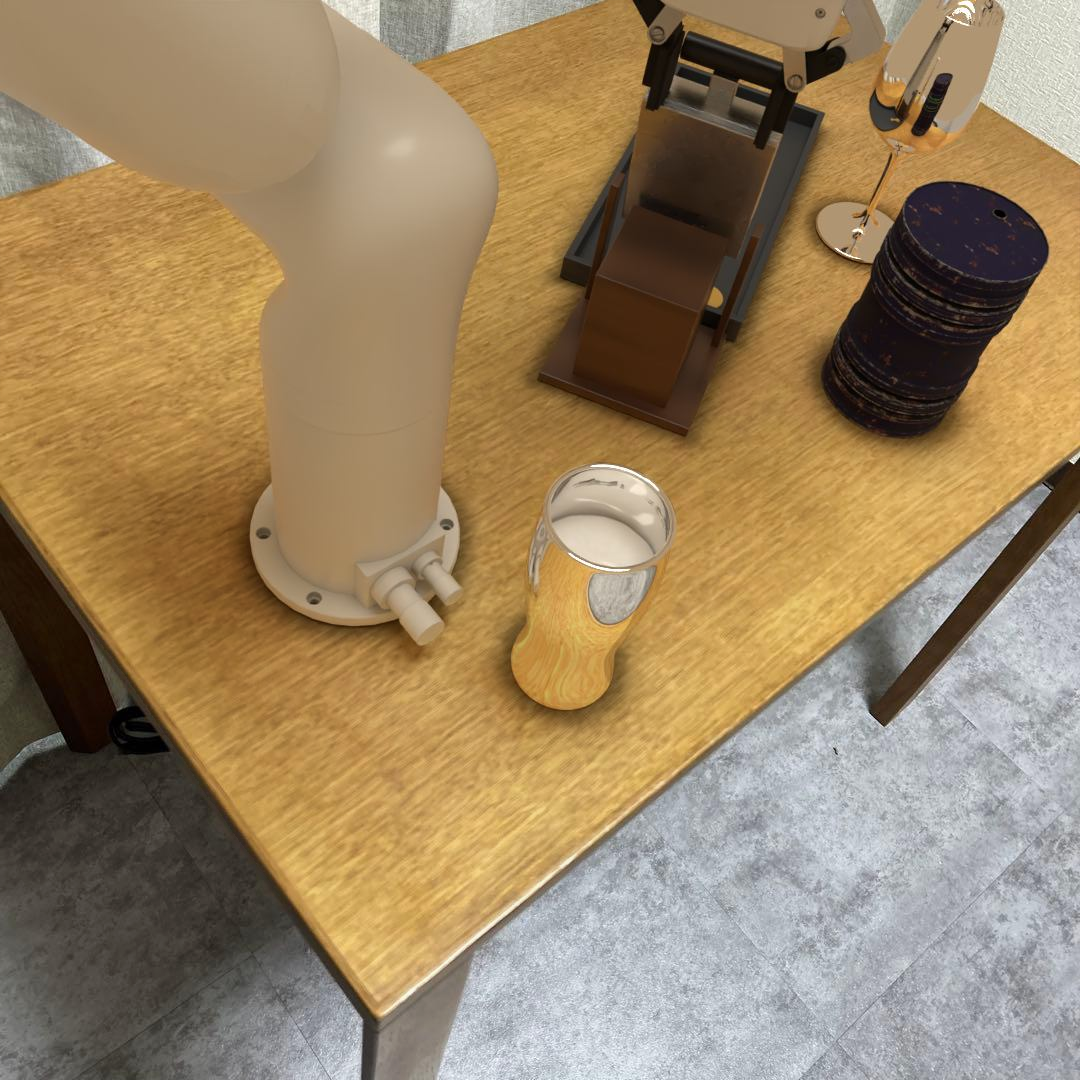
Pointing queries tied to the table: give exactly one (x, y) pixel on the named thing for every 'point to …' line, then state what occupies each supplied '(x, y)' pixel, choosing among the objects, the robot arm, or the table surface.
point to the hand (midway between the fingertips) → (711, 115)
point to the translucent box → (705, 144)
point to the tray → (768, 212)
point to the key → (715, 298)
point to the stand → (647, 318)
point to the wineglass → (919, 105)
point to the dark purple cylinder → (932, 306)
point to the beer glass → (589, 579)
